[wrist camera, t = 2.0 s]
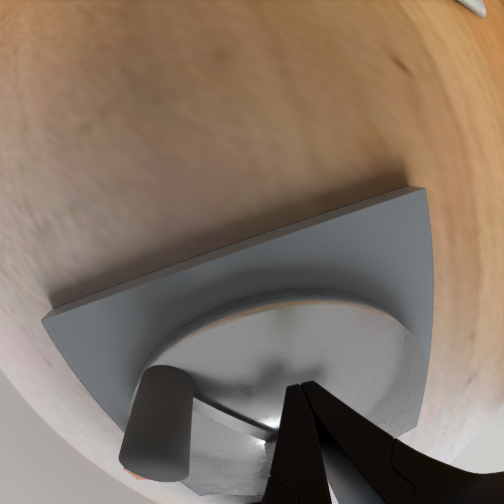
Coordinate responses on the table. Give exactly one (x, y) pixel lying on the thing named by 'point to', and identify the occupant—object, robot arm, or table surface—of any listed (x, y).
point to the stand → (255, 290)
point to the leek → (475, 6)
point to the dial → (263, 383)
